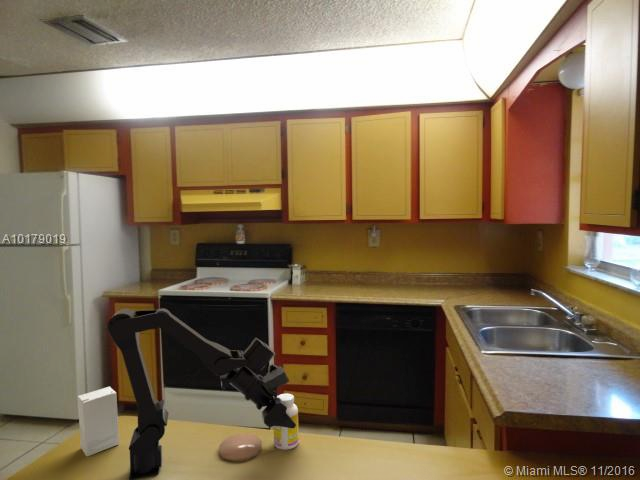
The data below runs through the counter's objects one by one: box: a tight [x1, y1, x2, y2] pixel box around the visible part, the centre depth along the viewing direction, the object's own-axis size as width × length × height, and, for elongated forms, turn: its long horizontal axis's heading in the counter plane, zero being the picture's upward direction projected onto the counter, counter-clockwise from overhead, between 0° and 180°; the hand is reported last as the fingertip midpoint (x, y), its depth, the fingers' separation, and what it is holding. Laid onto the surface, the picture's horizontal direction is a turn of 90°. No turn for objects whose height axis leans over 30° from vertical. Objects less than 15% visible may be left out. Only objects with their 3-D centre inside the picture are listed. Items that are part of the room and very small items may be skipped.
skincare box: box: [77, 385, 120, 457], centre depth 106 cm, size 8×6×15 cm
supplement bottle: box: [273, 393, 300, 451], centre depth 106 cm, size 7×7×13 cm
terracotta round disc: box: [218, 433, 263, 462], centre depth 104 cm, size 11×11×1 cm
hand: (290, 418), depth 107 cm, fingers open, 9 cm apart
